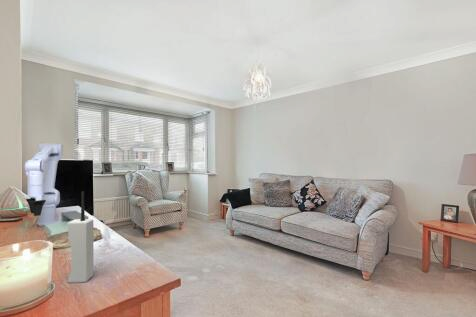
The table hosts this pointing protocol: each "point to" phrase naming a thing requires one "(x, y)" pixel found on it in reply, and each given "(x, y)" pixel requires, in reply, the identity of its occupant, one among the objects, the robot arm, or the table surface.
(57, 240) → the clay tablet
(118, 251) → the table surface
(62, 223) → the mint green slab
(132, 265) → the table surface
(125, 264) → the table surface
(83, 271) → the vintage mobile phone
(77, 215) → the hood
